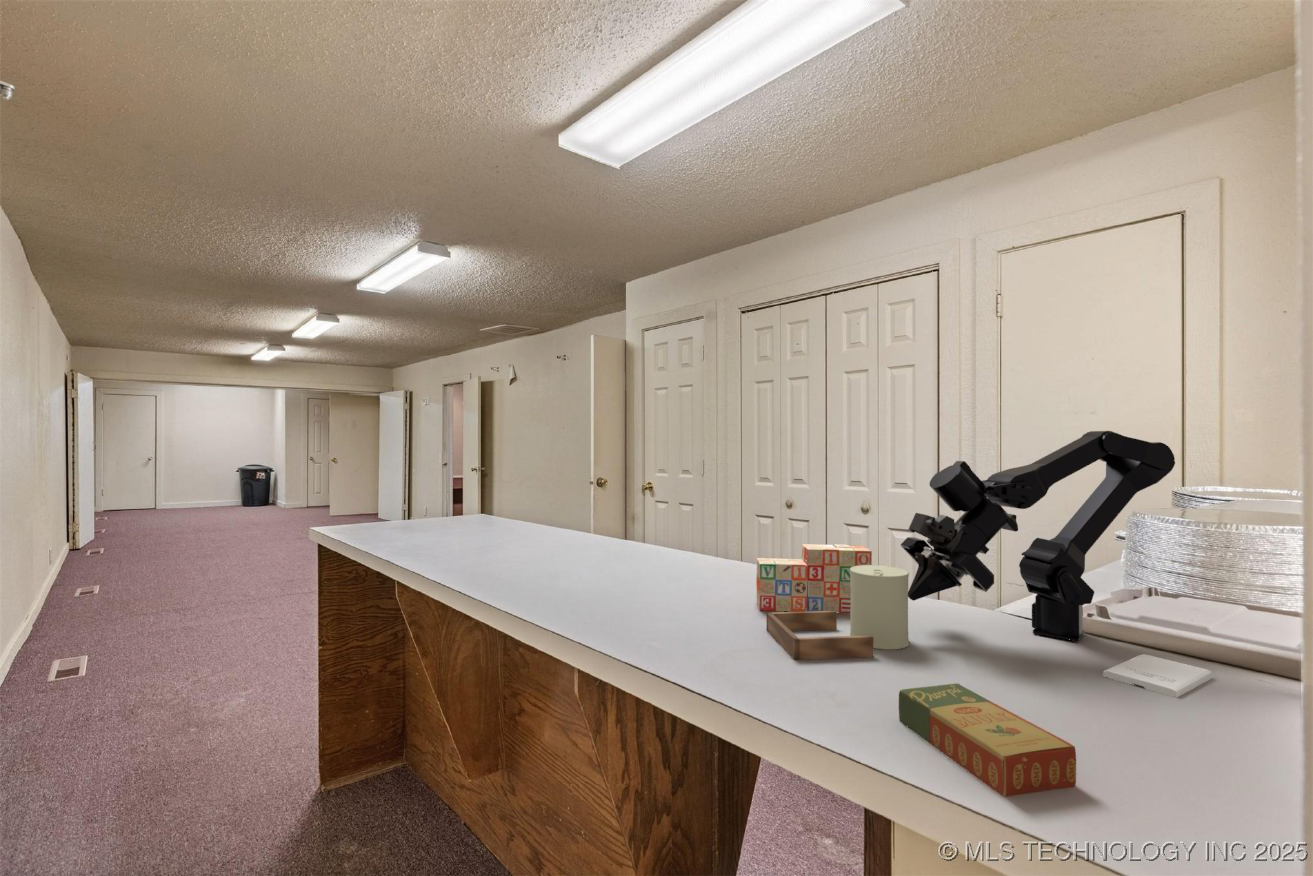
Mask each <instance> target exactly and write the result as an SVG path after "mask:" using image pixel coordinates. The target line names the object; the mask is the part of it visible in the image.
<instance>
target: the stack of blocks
mask: <svg viewBox="0 0 1313 876" xmlns="http://www.w3.org/2000/svg"><path fill="white" fill-rule="evenodd" d="M800 555H801V556H800V557H801V558H776V557H774V558H773V557H772V558H770V557H769V558H768V557H767V558H766V557H757V558H756V585H755V586H756V604H757V608H758V610H759V611H760V610H763V612H765V611H767V612H769V611H770V612H784V611H788V612H807V611H836V612H839V613H838V614H851V582H850V568H851V567H853V566H859V565H873V564H872V562H873V561H872V550H870V549H869V548H868V547H866V546H864V545H850V544H843V543H842V544H839V543H836V544H834V543H833V544H813V543H811V544H810V543H809V544H807V543H806V544H805V543H802V544H801V554H800Z"/></svg>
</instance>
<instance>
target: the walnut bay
mask: <svg viewBox="0 0 1313 876" xmlns="http://www.w3.org/2000/svg"><path fill="white" fill-rule="evenodd" d="M837 614H838V613H837V612H836V611H807V612H791V611H790V612H784V611H770V612H766V631H767V632H768V633H769V634H770V635H771V637H772V638H774V639H775V641H776V642H777V643H778V644H779V645H780V646H781V647H782V649H784V650H785V651H786V653H788V655H790V656H791V658H792V659H793V660H794V661H797V660H798V661H800V660H823V659H853V658H855V659H856V658H874V648H873V636H871V635H867V636H850V635H844V636H843V635H842V636H812V637H811V636H809V637H807V636H806V637H798V636H797V635H796V634H795V633H794V631H796V632H797V631H820V630H821V631H822V630H837V628H838V627H837V626H838V625H837V624H838V623H837V622H838V621H837V620H838V619H837V617H838V615H837Z"/></svg>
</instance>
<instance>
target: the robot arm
mask: <svg viewBox="0 0 1313 876" xmlns="http://www.w3.org/2000/svg"><path fill="white" fill-rule="evenodd" d="M1175 460H1176V459H1175V454H1174V453H1173V450H1172V449H1171V447H1170V446H1169V445H1167V444H1165V443H1163V442H1161V441H1160V442H1159V441H1157V442H1156V441H1155V442H1154V441H1153V442H1150V441H1148V440H1143V439H1138V438H1135V437H1129V436H1126V435H1122V434H1119V433H1117V432H1114V431H1112V430H1093V431H1092V430H1091V431H1088V432H1086V433H1084V434H1082V436H1081V437H1079V438H1077V439H1076V440H1073V441H1072V442H1070V443H1068V444H1066V445H1064V446H1062V447H1060V448H1059V449H1057V450H1055V451H1052V452H1051V453H1049V454H1047V455H1045V456H1043V457H1042V458H1039V459H1038V460H1036V461H1034V462H1032V463H1029V464H1027V465H1022V466H1017V467H1013V468H1007V469H1005V470H1001V471H998V472H995V473H993V474H991V475H990V476H988V478H986V479H984V480H983V479H982V480H981V479H980V478H979V476H977V475H976V473H975V472H974V471H973V470H972V468H971V466H970V465H969V464H968V463H967V461H965V460H964V461H963V460H956V461H955V462H954V463H953V464H951V465H949V466H947V467H945V468H944V469H941V470H940V471H937V472H936V473H935V474H934V475H933V476H932V477H931V479H930V480H929V487H930V488H931V489H932V490H933V491H934V493H936V495H937V496H938V497H939V498H940V499H941V500H942V501H943V502H944V503H945V504H946V505H947V506H948V507H949V508H950V509H951V511H953V512H962V513H963V514H962V515H961V516H960V517H959V518H958V519H957V520H956V521H955V519H954V518H952V517H950V516H948V515H944V514H939V516H937V517H935V516H932V515H931V516H930V515H928V514H924V513H919V512H915V514H914V516H913V518H912V520H911V522H910V524H909V527H908V531H911V533H917V534H918V535H920V536H923V537H924V538H927V540H926V541H925V540H924V539H921V538H917V537H914V536H913V537H911V536H910V537H906V538H905V540H904V541H903V542H901V544H900V546H901V548H902V549H903V550H904V551H905V552H906V553H907V554H908V555H909V556H910V558H912V560H914V562H915V563H916V564H917V565H918V567H917V569H916V572H915V576H914V578H913V580H912V582H911V585H910V587H909V588H908V599H910V600H911V601H917V600H919V599H922V598H924V597H928V596H931V595H934V594H937V593H938V592H942V591H944V590H945V591H946V590H949V589H952V588H955V587H962V583H961V582H960V581H961V580H962V579H963V577H964V576H965V577H968V576H970V577H971V578H972V580H973V582H972V586H973V587H974V588H975V589H977V590H979V591H983V592H985V593H987V592H988V591H989V590H990V588H992V586H993V585H994V584H995V574H994V573H993V572H992V571H991V570H990V569H989V568H988V567H987V566H986V565H985V564H984V562H982V561H981V559H979V557H978V554H983V555H986V554H987V553H988V552H989V551H990V548H989V547H987V545H988V544H989V542H990V541H992V539H993V538H994V537H996V535H997V534H999V532H1000V530H1007V531H1011V532H1018V531H1019V524H1018V522H1017V518H1018V516H1017V515H1016V514H1011V513H1008V512H1007V511H1006V510H1005V509H1004V508H1003V507H1007V508H1012V509H1013V508H1014V509H1018V510H1026V509H1029V508H1031V507H1033V506H1034V505H1035V504H1037V503H1038V502H1039V501H1040V500H1041V499H1043V498H1044V497H1046V495H1047V493H1048V491H1049V488H1051V487H1052V486H1053V485H1054V484H1056V483H1058V482H1060V481H1062V480H1063V479H1065V478H1067V477H1069V476H1072V474H1075V473H1077V472H1078V471H1080V470H1082V469H1084V468H1086V467H1088V466H1089V465H1092V464H1094V463H1095V462H1097V461H1100V462H1104V463H1105V477H1104V478H1103V480H1102V481H1101V482H1100V483H1099V484H1098V485H1097V487H1096V488H1095V490H1094V491H1092V493H1091V494H1090V495H1089V497H1088V498H1087V499H1086V500H1085V501H1084V502H1083V504H1081V506H1080V507H1079V508H1078V510H1077V511H1076V512H1075V513H1074V515H1072V517H1071V518H1070V519H1069V520H1068V522H1067V523H1066V524H1065V525H1064V526H1063V527H1062V529H1061V530H1060V531H1059V532H1058V533H1057V534H1056V536H1054V537H1052V538H1051V539H1046V538H1041V537H1036V538H1035V539H1034V540H1033V541H1032V542H1031V544H1030V545H1029V547H1028V548H1027V549H1026V550H1025V551H1023V552H1022V553H1021V556H1023V557H1022V559H1021V560H1020V561H1019V565H1018V568H1019V572H1020V576H1021V578H1022V579H1023V581H1024V583H1025V585H1026V589H1027V591H1028V592H1029V593H1031V594H1036V595H1035V600H1034V602H1033V603H1032V604H1031V627H1032V634H1034V635H1039V636H1043V635H1046V636H1045V637H1049V636H1050V638H1054V637H1057V638H1056V639H1059V638H1062V639H1061V640H1064V639H1070V640H1074V641H1073V642H1075V641H1079V642H1080V641H1081V639H1082V638H1083V637H1084V636H1085V634H1086V631H1085V630H1083V606H1084V605H1090V604H1091V603H1092V601H1093V598H1094V595H1095V591H1094V589H1093V588H1091V586H1090V585H1089V584H1088V583H1087V582H1086V581H1085V580H1084V579H1083V578H1082V576H1083V575H1084V572H1085V570H1086V569H1085V568H1086V567H1085V566H1086V554H1087V553H1088V552H1089V550H1090V549H1092V547H1093V546H1094V545H1095V543H1096V542H1097V541H1098V540H1099V539H1100V537H1101V536H1102V535H1103V534H1104V532H1105V531H1106V530H1107V529H1108V528H1109V527H1110V525H1111V524H1112V523H1113V522H1114V520H1115V519H1117V517H1118V516H1119V514H1120V513H1121V512H1123V510H1124V508H1125V507H1126V506H1127V505H1128V504H1129V502H1130V501H1131V500H1132V499H1133V498H1134V496H1135V495H1136V494H1137V493H1139V492H1141V491H1143V490H1145V489H1147V488H1149V487H1153V485H1156V484H1158V483H1159V482H1160V481H1162V479H1164V478H1165V477H1166V476H1167V475H1168V474H1170V473H1171V472H1172V470H1173V469H1174V467H1175V464H1176V461H1175ZM932 547H933V548H932ZM1081 637H1082V638H1081ZM1080 638H1081V639H1080ZM1070 640H1069V641H1070Z"/></svg>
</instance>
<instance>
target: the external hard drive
mask: <svg viewBox="0 0 1313 876" xmlns="http://www.w3.org/2000/svg"><path fill="white" fill-rule="evenodd" d="M1103 676H1104V677H1103ZM1102 677H1103V678H1105V677H1108V678H1107V679H1109V678H1110V680H1112V679H1115V680H1114V681H1116V680H1117V681H1116V682H1119V681H1121V682H1120V683H1123V682H1125V683H1124V684H1126V683H1128V684H1127V685H1130V684H1134V685H1133V686H1135V685H1136V686H1135V687H1138V686H1140V687H1139V688H1141V689H1142V688H1143V689H1144V688H1145V690H1148V691H1150V692H1151V691H1152V692H1154V693H1159V694H1162V695H1166V696H1169V697H1172V698H1179V697H1181V696H1182V695H1184V694H1186V693H1188V692H1190V691H1192V690H1193V689H1195V688H1197V687H1199V686H1201V685H1203V684H1204V683H1206V682H1208V681H1210V680H1212V679H1213V672H1212V671H1211V670H1209V669H1207V668H1202V667H1200V666H1199V667H1198V666H1195V665H1192V664H1191V665H1190V664H1188V663H1187V664H1185V663H1182V662H1180V661H1179V662H1178V661H1174V660H1170V659H1166V658H1161V657H1157V656H1155V655H1150V654H1145V653H1144V654H1143V653H1142V654H1140V655H1137V656H1135V657H1133V658H1130V659H1128V660H1126V661H1123V662H1121V663H1119V664H1116V665H1114V666H1112V667H1110V668H1108V669H1105V670H1103V671H1102Z"/></svg>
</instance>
